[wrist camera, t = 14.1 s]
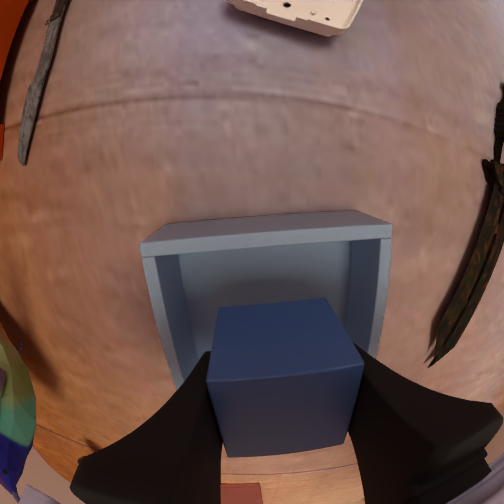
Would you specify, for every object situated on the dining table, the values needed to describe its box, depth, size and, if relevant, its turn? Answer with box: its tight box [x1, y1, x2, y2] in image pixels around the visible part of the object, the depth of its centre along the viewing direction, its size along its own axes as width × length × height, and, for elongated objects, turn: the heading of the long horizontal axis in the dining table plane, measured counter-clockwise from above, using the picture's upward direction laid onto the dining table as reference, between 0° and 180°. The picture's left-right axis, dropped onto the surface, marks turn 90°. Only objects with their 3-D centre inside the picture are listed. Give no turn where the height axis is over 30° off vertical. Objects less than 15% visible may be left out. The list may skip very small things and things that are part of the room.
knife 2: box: [428, 86, 504, 368], centre depth 13 cm, size 25×6×1 cm, turn 154°
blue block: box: [206, 298, 364, 457], centre depth 9 cm, size 4×4×4 cm
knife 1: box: [18, 0, 68, 166], centre depth 9 cm, size 17×1×3 cm
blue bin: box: [139, 210, 393, 390], centre depth 13 cm, size 10×10×4 cm
